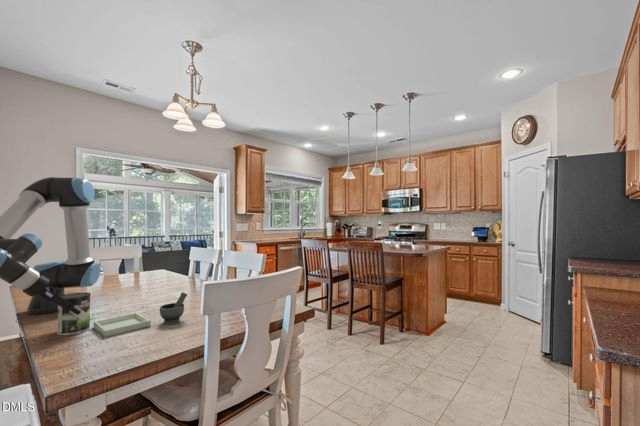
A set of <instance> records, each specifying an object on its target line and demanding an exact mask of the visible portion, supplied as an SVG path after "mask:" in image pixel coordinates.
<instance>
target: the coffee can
mask: <svg viewBox="0 0 640 426" xmlns="http://www.w3.org/2000/svg"><path fill="white" fill-rule="evenodd" d="M60 297H62V298H63V299H65V300H66V301H68V302H69V303H71V304H73V305H75V306H77V307H78V308H80V309H81V310H83V311H84V312H86V313H88V314H89V316H88V317H87V318H86V319H85V320H84V321H83V320H81V319H80V318H78V317H76V316H75V315H73V314H71V313H70V312H68V313H66V310H65V309H64V308H62V307H61V306H59V305H58V311H57V332H56V334H57V335H59V336H73V335H78V334H81V333H84V332H87V331H89V330H90V328H91V325H90V323H91V322H90V321H91V319H90V318H91V293H90V292H73V293H65V295H62V296H60ZM69 306H70V305H69ZM69 306H68V307H69ZM68 307H67V308H68Z"/></svg>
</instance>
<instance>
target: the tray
mask: <svg viewBox="0 0 640 426" xmlns="http://www.w3.org/2000/svg"><path fill="white" fill-rule="evenodd" d="M151 322H152V321H151V319H150V318H147V317H146V316H144V315H142V314H140V313H139V312H133V313H129V314H123V315H119V316H115V317H114V316H113V317H108V318H104V319H101V320H95V321H93V329H94V330H95V331H97V332H98V333H99V334H100V335H102V337H103V338H111V337H113V336H114V337H115V336H118V335H121V334H127V333H129V332H134V331H138V330H141V329H146V328H150V327H151V326H152V325H151V324H152V323H151Z"/></svg>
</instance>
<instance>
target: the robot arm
mask: <svg viewBox="0 0 640 426" xmlns="http://www.w3.org/2000/svg"><path fill="white" fill-rule="evenodd" d="M95 191H96V190H95V188H94V186H93V184H92V182H90V180H88V179H87V178H84V177H56V176H55V177H53V176H49V177H44V178H41V179H39V180H37V181H35V182H33V183H30V185H28V186H26V187H25V188H24V189H22V190H21V192H19V194H18V198H17V200H15V201H14V202H13V203H12V204H11V205H10V206H9V207H8V208H7V209H6V210H4V212H3V213H2V214H1V215H0V280H2V281H4V282H6V283H8V284H10V285H11V286H10V287H11V289H15V288H16V289H18V290H19V291H21V290H22V293H24V294H26V295H27V296H30V297H31V298H30V301H29V304H28V306H27V310H26V314H28V315H46V314H51V313H58V305H59V306H61V307H62V308H64V309H65V310H66V313H68V312H70V313H71V314H73V315H75V316H76V317H78V318H80V319H81V320H83V321H84V320H85V319H86V318H87V317H88V316H89V314H88V313H86V312H84V311H83V310H81V309H80V308H78V307H77V306H75V305H73V304H71V303H69V302H68V301H66V300H65V299H63V298H62V297H60V296H62V295H66V293H65V288H67V289H69V288H72V289H73V288H86V287H87V288H89V287H92V286H94V285H95V284H96V283H97V282H98V280H99V278H100V274H101V265H100V264H99V263H97V262H95V259H94V257H93V256H91V254H90V253H91V252H90V240H89V238H90V236H89V227H88V226H89V225H88V215H87V214H88V213H87V210H88V208H90V206H91V203H92V202H94V200H95V197H96V192H95ZM49 203H58V206H59V208H60V209H62V210H63V217H64V218H63V219H64V227H65V237H66V251H67V253H66V254H67V259H66V260H59V261H52V262H45V263H40V264H36V265H35V266H33V267H31V266H29V265H28V264H27V262H28V261H29V260H30V259H31V258H32V257H33V256H34V255H35V254H36V253H38V251H39V250H40V248H41V247H42V246H43V241H42V239H41V238H40V237H39V236H38V235H36V234H33V233H24V234H22V235H20V236H18V237H17V238H12V237H13V236H15V234H16V233H17V232H18V230H20V229H21V227H22V226H23V225H24V224H25V223H26V222H27V221H28V220H29V219H30V218H31V216H32V215H34V214H35V213H36V212H37V210H38V209H39V208H43V207H45V205H46V204H49ZM69 305H70V306H69ZM68 306H69V307H68ZM67 307H68V308H67Z"/></svg>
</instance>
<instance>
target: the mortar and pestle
mask: <svg viewBox="0 0 640 426" xmlns="http://www.w3.org/2000/svg"><path fill="white" fill-rule="evenodd" d="M187 297H188V294H187V293H185V292H181V293H180V295H179V297H178V299H177V301H176V302H173V303H172V302H171V303H166V304H165V303H164V304H163V305H160V306H159V315H160V317H161V318H162V319H163V321H164V323H163V324H164V325H175V324H178V323H179V322H180V320H181V319H180V318H181V317H182V316H183V314H184V311H185V303H184V302H185V300H186V298H187Z"/></svg>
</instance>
